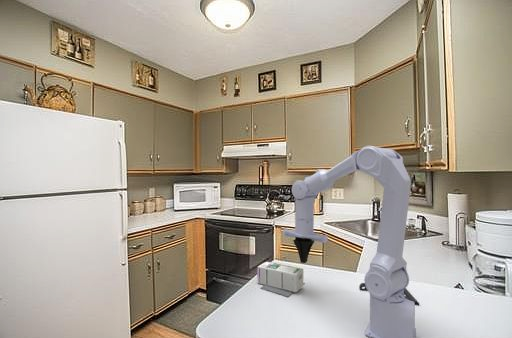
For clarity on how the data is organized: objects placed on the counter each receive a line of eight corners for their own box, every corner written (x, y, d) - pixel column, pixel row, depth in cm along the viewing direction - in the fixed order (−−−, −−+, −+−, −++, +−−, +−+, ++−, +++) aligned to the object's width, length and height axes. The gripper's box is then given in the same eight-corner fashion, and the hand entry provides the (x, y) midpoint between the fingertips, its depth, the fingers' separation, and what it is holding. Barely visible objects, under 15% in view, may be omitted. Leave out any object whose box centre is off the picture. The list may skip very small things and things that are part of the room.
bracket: (355, 282, 91) (355, 274, 91) (401, 286, 88) (401, 278, 89) (364, 302, 77) (364, 293, 77) (419, 308, 74) (419, 298, 74)
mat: (304, 283, 88) (304, 282, 88) (288, 297, 78) (288, 296, 78) (278, 276, 94) (278, 275, 94) (260, 288, 84) (260, 287, 84)
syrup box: (296, 274, 80) (256, 265, 88) (296, 293, 80) (256, 282, 88) (303, 268, 85) (265, 260, 92) (303, 286, 84) (265, 277, 92)
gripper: (278, 217, 83) (277, 260, 83) (321, 223, 75) (321, 271, 74) (288, 215, 89) (287, 255, 88) (330, 220, 80) (329, 264, 80)
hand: (303, 262), depth 82 cm, fingers closed
